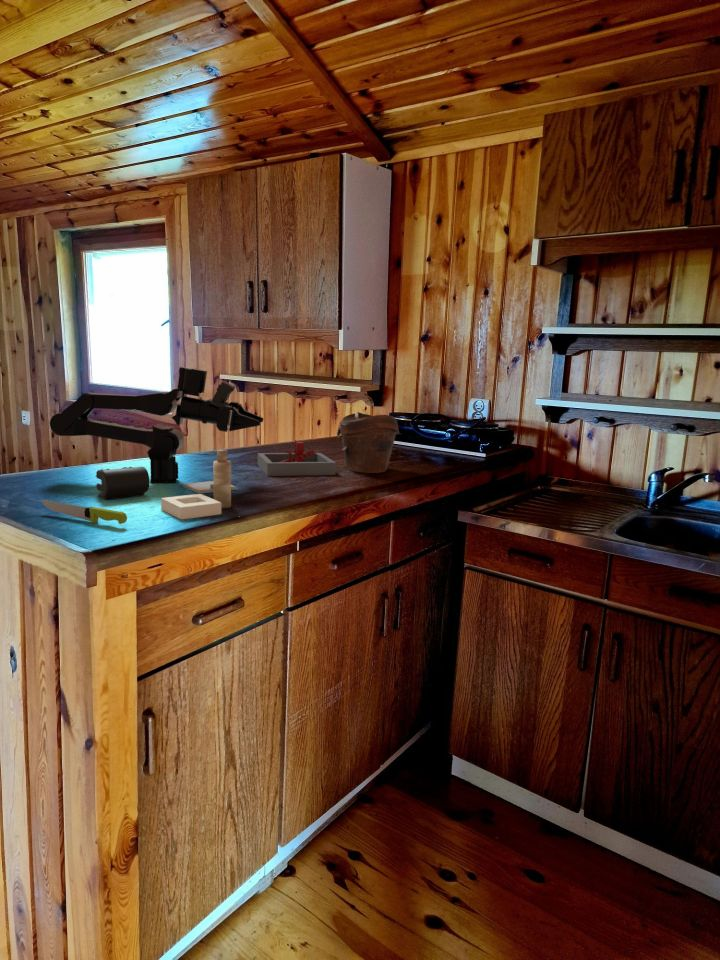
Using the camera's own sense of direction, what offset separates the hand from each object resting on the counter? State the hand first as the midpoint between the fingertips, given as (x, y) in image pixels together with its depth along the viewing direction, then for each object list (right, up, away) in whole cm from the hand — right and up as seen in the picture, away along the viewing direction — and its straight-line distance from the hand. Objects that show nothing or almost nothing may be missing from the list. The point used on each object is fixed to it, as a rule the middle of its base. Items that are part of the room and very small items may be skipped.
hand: (261, 421), depth 163 cm
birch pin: (-5, -21, -24) cm, 32 cm away
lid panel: (-12, -17, -6) cm, 22 cm away
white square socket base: (-10, -22, -30) cm, 39 cm away
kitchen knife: (-29, -23, -40) cm, 55 cm away
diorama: (+6, -12, +26) cm, 29 cm away
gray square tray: (+6, -12, +26) cm, 29 cm away
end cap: (-29, -19, -18) cm, 39 cm away
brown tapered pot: (+27, -12, +31) cm, 43 cm away
